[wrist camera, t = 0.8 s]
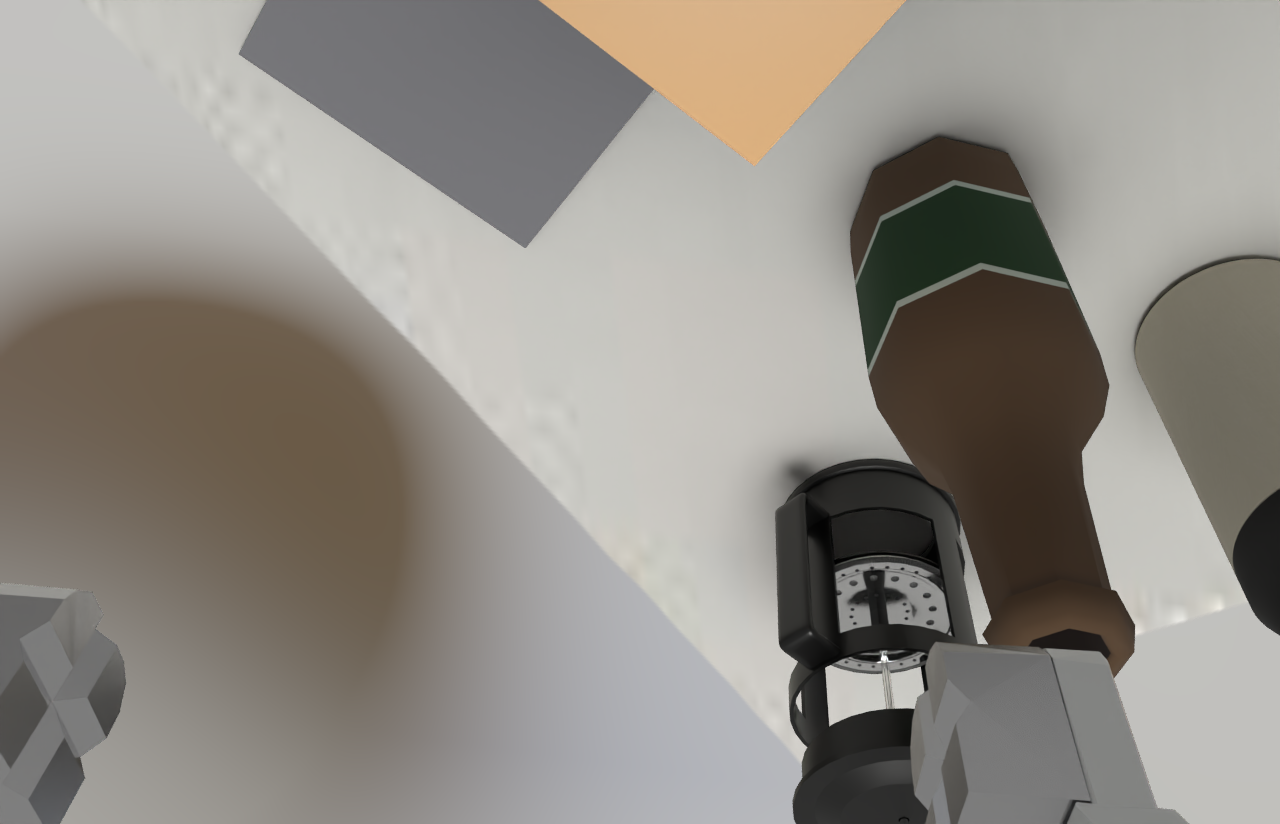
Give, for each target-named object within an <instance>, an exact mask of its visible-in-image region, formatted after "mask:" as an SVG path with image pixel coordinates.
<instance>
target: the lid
mask: <svg viewBox="0 0 1280 824" xmlns="http://www.w3.org/2000/svg"><path fill="white" fill-rule="evenodd" d="M539 1H540V2H542V3H543V4H544V5H546V6H547V7H548V8H549V9H551V10H552V11H553V12H555V13H556V14H557V15H559V16H560V17H561V18H562V19H564V20H565V21H566V22H568V23H569V24H570V25H572V26H573V27H574V28H575V29H577V30H578V31H579V32H581V33H582V34H583V35H585V36H586V37H587V38H588V39H590V40H591V41H592V42H594V43H595V44H596V45H598V46H599V47H600V48H601V49H603V50H604V51H605V52H607V53H608V54H609V55H611V56H612V57H613V58H614V59H616V60H617V61H618V62H620V63H621V64H622V65H624V66H625V67H626V68H628V69H629V70H630V71H631V72H633V73H634V74H635V75H637V76H638V77H639V78H641V79H642V80H643V81H644V82H646V83H647V84H648V85H650V86H651V87H652V88H654V89H655V90H656V91H657V92H659V93H660V94H661V95H663V96H664V97H665V98H667V99H668V100H669V101H670V102H672V103H673V104H674V105H676V106H677V107H678V108H680V109H681V110H682V111H683V112H685V113H686V114H687V115H689V116H690V117H691V118H693V119H694V120H695V121H696V122H698V123H699V124H700V125H702V126H703V127H704V128H706V129H707V130H708V131H709V132H711V133H712V134H713V135H715V136H716V137H717V138H719V139H720V140H721V141H722V142H724V143H725V144H726V145H728V146H729V147H730V148H732V149H733V150H734V151H735V152H737V153H738V154H739V155H741V156H742V157H743V158H745V159H746V160H747V161H748V162H750V163H751V164H752V165H754V166H755V165H756V164H757V163H758V162H759V161H760V160H761V159H762V157H763V156H764V155H765V154H766V153H767V152H768V151H769V150H770V149H771V148H772V147H773V145H774V144H775V143H776V142H777V141H778V140H779V139H780V138H781V137H782V136H783V134H784V133H785V132H786V131H787V130H788V129H789V128H790V127H791V126H792V125H793V124H794V122H795V121H796V120H797V119H798V118H799V117H800V116H801V115H802V114H803V113H804V112H805V110H806V109H807V108H808V107H809V106H810V105H811V104H812V103H813V102H814V101H815V99H816V98H817V97H818V96H819V95H820V94H821V93H822V92H823V91H824V90H825V89H826V87H827V86H828V85H829V84H830V83H831V82H832V81H833V80H834V79H835V78H836V77H837V75H838V74H839V73H840V72H841V71H842V70H843V69H844V68H845V67H846V66H847V64H848V63H849V62H850V61H851V60H852V59H853V58H854V57H855V56H856V55H857V54H858V52H859V51H860V50H861V49H862V48H863V47H864V46H865V45H866V44H867V43H868V41H869V40H870V39H871V38H872V37H873V36H874V35H875V34H876V33H877V32H878V31H879V29H880V28H881V27H882V26H883V25H884V24H885V23H886V22H887V21H888V20H889V19H890V17H891V16H892V15H893V14H894V13H895V12H896V11H897V10H898V9H899V8H900V6H901V5H902V4H903V3H904V2H905V1H906V0H539Z"/></svg>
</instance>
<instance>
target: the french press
mask: <svg viewBox="0 0 1280 824" xmlns="http://www.w3.org/2000/svg"><path fill="white" fill-rule="evenodd" d="M863 510H892V511H901V512H905V513H909V514H913V515H916V516H919V517H921V518H923V519H925V520H928V521H930V522H931V527H932V533H933V540H932V542H931V544H930V546H929V547H928V549H927V550H926V551H925V552H924V553H923V554H922V555H921V556H917V555H912V554H908V553H903V552H893V551H871V552H863V553H857V554H852V555H848V556H844V557H841V558H838V559H836V560H834V550H833V538H832V526H831V519H833V518H836V517H839V516H841V515H844V514H847V513H853V512H858V511H863ZM775 519H776V557H777V595H778V633H779V645H780V648H781V649H782V650H783V651H784V652H786V653H787V654H788V655H790V656H791V657H792V658H794V659H795V660H797V661H798V663H797V665H796V667H795V668H794V670H793V672H792V674H791V678H790V683H789V710H790V721H791V724H792V726H793V729H794V731H795V733H796V735H797V736H798V737H799V739H800V740H801V741H802V742H803V744H804V745H806V746H807V747H808V748H807V749H806V751H805V753H804V757H803V761H802V777H803V778H802V780H801V781H800V783H799V784H798V786H797V788H796V790H795V794H794V797H793V814H794V820H795V822H796V824H925V822H926V818H927V815H928V810H927V809H926V807H925V806H924V805H923V804H922V803H921V802H920V801H919V799H918V798H917V797H916V796H915V794H914V786H913V778H912V768H911V750H910V746H911V732H912V719H913V715H914V710H915V709H909V708H904V709H895V708H894V700H893V692H892V684H891V676H890V673H895V672H902V671H907V670H910V669H914V668H917V667H920V666H921V672H922V678H923V685H924V691H925V692H926V691H927V690H929V689H928V683H927V676H926V670H925V666H926V662H927V659H928V655H929V652H930V649H931V648H932V646H933V645H934V643H935V642H948V643H968V644H977V639H976V634H975V629H974V624H973V620H972V615H971V610H970V605H969V600H968V596H967V591H966V586H965V581H964V568H965V561H964V556H963V551H962V547H961V542H960V537H959V536H960V524H961V520H960V516H959V513H958V510H957V506H956V503H955V500H954V499H953V497H952V495H951V494H950V493H948V492H946V491H944V490H942V489H940V488H938V487H935V486H933V485H931V484H929V482H928V481H927V480H926V479H925V478H924V476H923V475H922V474H921V473H920V472H919V470H918V469H917V468H916V467H914V466H911V465H908V464H904V463H900V462H896V461H887V460H877V459H875V460H858V461H853V462H848V463H843V464H839V465H836V466H833V467H831V468H828V469H825V470H823V471H821V472H819V473H818V474H816V475H814V476H812V477H810V478H809V479H807V480H806V481H805V482H804V483H803V484H801V485H800V486H799V487H798V488H797V489H796V490H795V491H794V492H793V494H792V495H791V496H790V497H789V499H788V500H787V502H786V504H784V505H783V506H781V507H780V508H778V509H777V510H776V513H775ZM829 665H832V666H834V667H837V668H839V669H843V670H848V671H852V672H857V673H867V674H882V677H883V685H884V693H885V702H886V709H883V710H876V711H869V712H865V713H862V714H858V715H854V716H851V717H848V718H846V719H844V720H841V721H839V722H837V723H834V724H833V725H831V726H830V727H829V718H828V703H827V688H826V673H825V668H826V667H827V666H829ZM800 691H801V698H802V713H801V712H800V711H799V709H798V707H797V705H796V698H797V696H798V694H799V693H800Z"/></svg>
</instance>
